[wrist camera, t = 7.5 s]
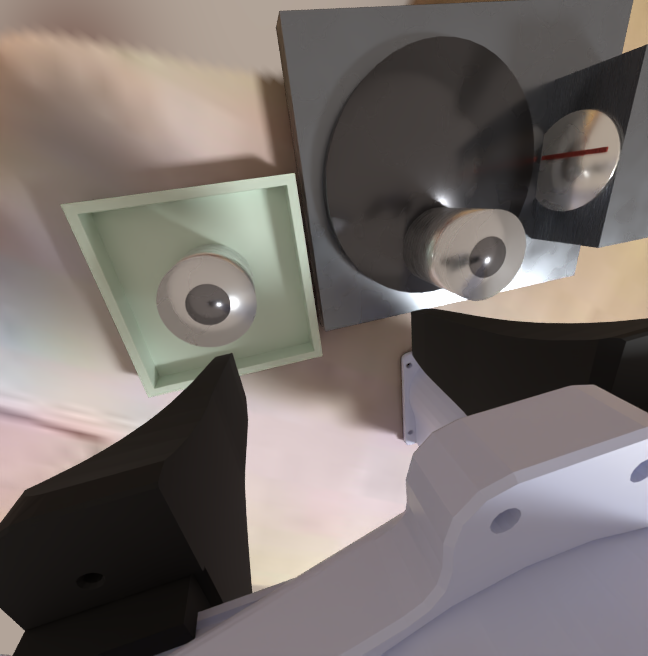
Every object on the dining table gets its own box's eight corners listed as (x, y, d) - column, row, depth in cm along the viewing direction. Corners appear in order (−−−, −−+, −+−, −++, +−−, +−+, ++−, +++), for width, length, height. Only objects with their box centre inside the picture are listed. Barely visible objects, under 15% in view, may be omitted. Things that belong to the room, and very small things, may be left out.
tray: (316, 343, 22) (322, 356, 20) (156, 380, 20) (148, 397, 19) (289, 175, 18) (294, 172, 16) (80, 203, 16) (60, 204, 14)
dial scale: (556, 271, 25) (642, 290, 20) (320, 323, 22) (345, 364, 16) (605, 10, 18) (756, -69, 13) (276, 28, 15) (294, -68, 10)
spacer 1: (257, 312, 20) (260, 342, 16) (184, 319, 19) (167, 353, 15) (249, 242, 18) (251, 254, 14) (168, 245, 17) (145, 260, 13)
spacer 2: (464, 273, 20) (520, 291, 16) (403, 285, 20) (445, 308, 15) (468, 201, 18) (533, 202, 14) (401, 213, 18) (449, 217, 14)
